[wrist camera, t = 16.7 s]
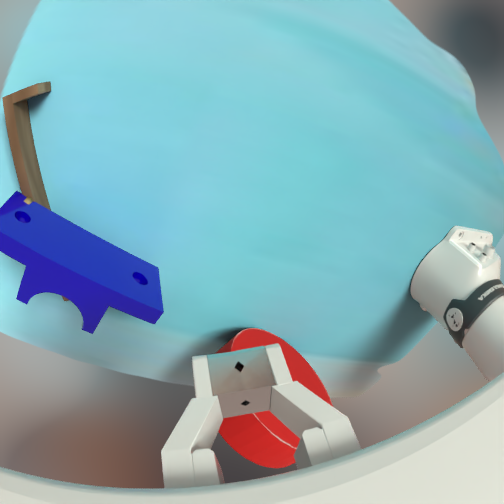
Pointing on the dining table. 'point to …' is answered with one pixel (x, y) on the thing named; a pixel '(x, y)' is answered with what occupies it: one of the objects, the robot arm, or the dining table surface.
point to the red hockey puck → (265, 423)
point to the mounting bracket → (76, 265)
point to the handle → (25, 143)
